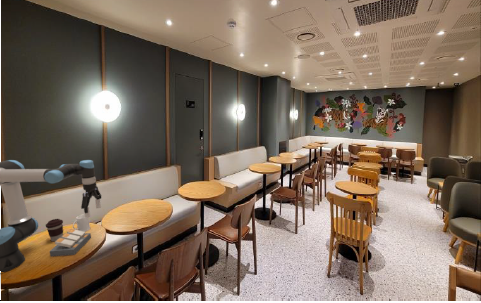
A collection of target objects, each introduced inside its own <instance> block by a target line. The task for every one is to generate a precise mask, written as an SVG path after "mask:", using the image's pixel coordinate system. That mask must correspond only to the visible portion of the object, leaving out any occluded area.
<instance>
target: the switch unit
mask: <svg viewBox="0 0 481 303" xmlns="http://www.w3.org/2000/svg"><path fill="white" fill-rule="evenodd" d="M91 239H92V234H91V233H90V232H89V233H86V232H85V235H83V236H82V237H81V238H80V239H79V240H78V241H77V242H75V244H74V245H73V246H72V247H71V248H69V247H65V246H60V245H56V244H55V246H54V247H52V249H51V250H49V256H50V257H62V256H63V257H64V256H75V255H76V254H77V253H78V252H79V251H80V250H81V249H82V248H84V247H85V245H86V244H87V243H88V242H89V241H90V240H91ZM83 246H84V247H83Z"/></svg>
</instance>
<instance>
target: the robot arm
mask: <svg viewBox="0 0 481 303" xmlns="http://www.w3.org/2000/svg"><path fill="white" fill-rule="evenodd" d="M72 176H81V183H82V189H83V191H85V192H83V193H82V199H81V206H80V208H81V209H83V212H84V213H83V214H85V217H88V218H91V212H90V207H89V205H90V201H91V199H92V197H94V198H95V208H96V209H101V208H102V206H101V199H102V194H101V192H100V191H99V188H98V185H97V181H96V180H97V178H96V174H95V165H94V160H92V159H84V160H80V162H79V163H65V164H61V165H60V166H59V167H58V168H25V166H24V164H23V163H21V162H19V160H14V159H9V160H3V161H0V189H1V191H2V195H3V200H4V203H5V206H6V210H7V214H8V217H9V220H8V221H7V226H6V227H2V228H0V271H1V272H4V273H7V272H9V271H12V270H14V269H16V268H18V267H20V265H23V263H25V260H26V256H25V255H24V254H23V253H22V251H20V248H19V243H21V242H23V241H24V240H26V239H27V238H29V237H31V236H32V235H34V233H35V232H37V231H38V228H39V222H38V220H37V219H36V218H34V217H32V215H29V214H28V210H27V206H26V202H25V199H24V195H23V191H22V186H21V183H28V182H30V183H32V182H33V183H34V182H38V183H39V182H42V183H43V182H46V183H48V184H57V183H59V182H61V181H63V180H65V179H68V178H70V177H72Z"/></svg>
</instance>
